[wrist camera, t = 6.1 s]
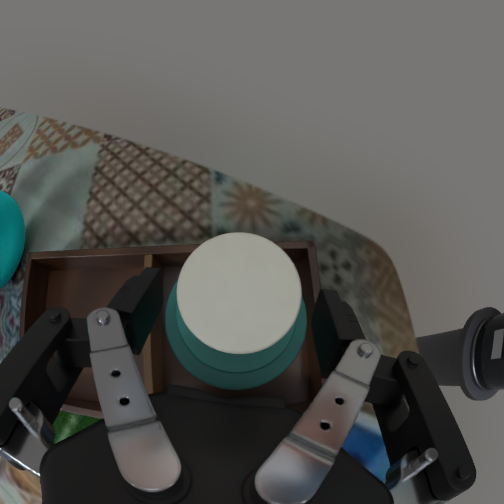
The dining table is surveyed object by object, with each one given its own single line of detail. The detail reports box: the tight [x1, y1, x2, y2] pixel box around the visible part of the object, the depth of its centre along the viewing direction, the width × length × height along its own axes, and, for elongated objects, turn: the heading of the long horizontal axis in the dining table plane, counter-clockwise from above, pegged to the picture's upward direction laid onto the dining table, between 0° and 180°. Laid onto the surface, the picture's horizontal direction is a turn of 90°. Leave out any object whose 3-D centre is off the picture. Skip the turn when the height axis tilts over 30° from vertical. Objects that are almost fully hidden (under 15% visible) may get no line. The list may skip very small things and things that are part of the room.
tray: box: [20, 240, 327, 419], centre depth 18 cm, size 23×12×4 cm, turn 94°
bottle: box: [165, 232, 307, 390], centre depth 12 cm, size 5×5×16 cm
